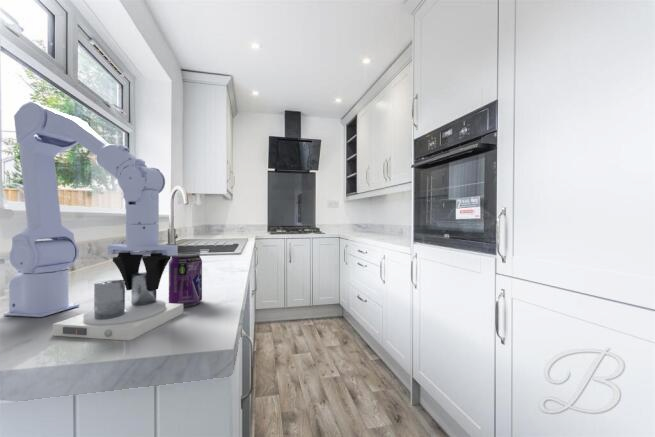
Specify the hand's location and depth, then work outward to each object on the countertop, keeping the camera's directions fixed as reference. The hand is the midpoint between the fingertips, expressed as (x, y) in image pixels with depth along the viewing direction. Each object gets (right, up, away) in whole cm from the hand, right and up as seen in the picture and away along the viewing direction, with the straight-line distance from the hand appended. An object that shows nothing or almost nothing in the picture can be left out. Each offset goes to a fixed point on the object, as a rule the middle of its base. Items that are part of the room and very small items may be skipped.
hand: (142, 289), depth 59 cm
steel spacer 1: (-1, -3, -8) cm, 8 cm away
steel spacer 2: (0, -3, 0) cm, 3 cm away
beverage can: (+5, -6, +9) cm, 11 cm away
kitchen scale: (-1, -6, -4) cm, 7 cm away
